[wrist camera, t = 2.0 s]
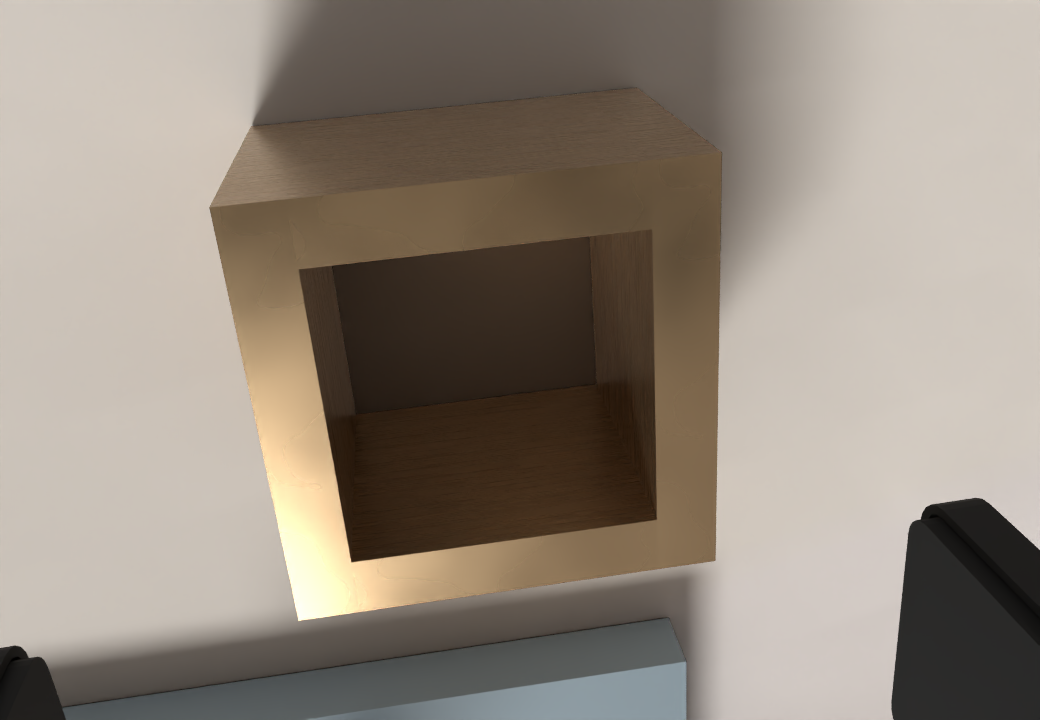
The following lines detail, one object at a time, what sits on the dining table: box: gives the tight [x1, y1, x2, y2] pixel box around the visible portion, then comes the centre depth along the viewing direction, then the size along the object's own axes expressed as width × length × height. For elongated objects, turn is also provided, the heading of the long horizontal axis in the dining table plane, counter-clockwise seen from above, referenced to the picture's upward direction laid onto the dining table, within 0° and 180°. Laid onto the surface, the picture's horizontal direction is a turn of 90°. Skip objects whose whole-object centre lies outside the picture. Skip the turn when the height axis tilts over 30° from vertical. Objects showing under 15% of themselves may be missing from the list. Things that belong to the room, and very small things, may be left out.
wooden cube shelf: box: [209, 88, 722, 621], centre depth 17 cm, size 7×7×5 cm
